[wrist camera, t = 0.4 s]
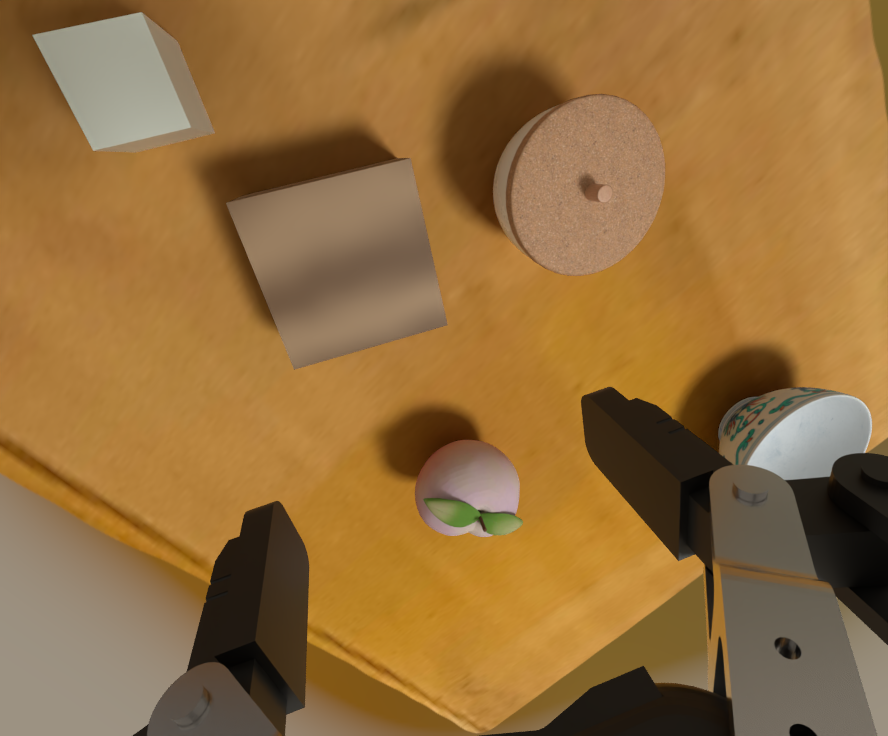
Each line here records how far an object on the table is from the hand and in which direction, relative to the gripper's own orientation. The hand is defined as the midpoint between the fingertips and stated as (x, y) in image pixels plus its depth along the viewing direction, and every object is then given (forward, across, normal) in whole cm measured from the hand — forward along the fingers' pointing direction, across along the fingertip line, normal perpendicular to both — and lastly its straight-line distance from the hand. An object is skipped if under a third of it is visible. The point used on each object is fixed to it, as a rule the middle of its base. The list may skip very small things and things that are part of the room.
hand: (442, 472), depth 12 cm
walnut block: (+26, +1, -1) cm, 27 cm away
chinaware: (+26, -36, +30) cm, 53 cm away
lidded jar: (+26, -15, -1) cm, 30 cm away
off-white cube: (+26, +9, -13) cm, 31 cm away
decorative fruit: (+26, -3, +20) cm, 33 cm away
